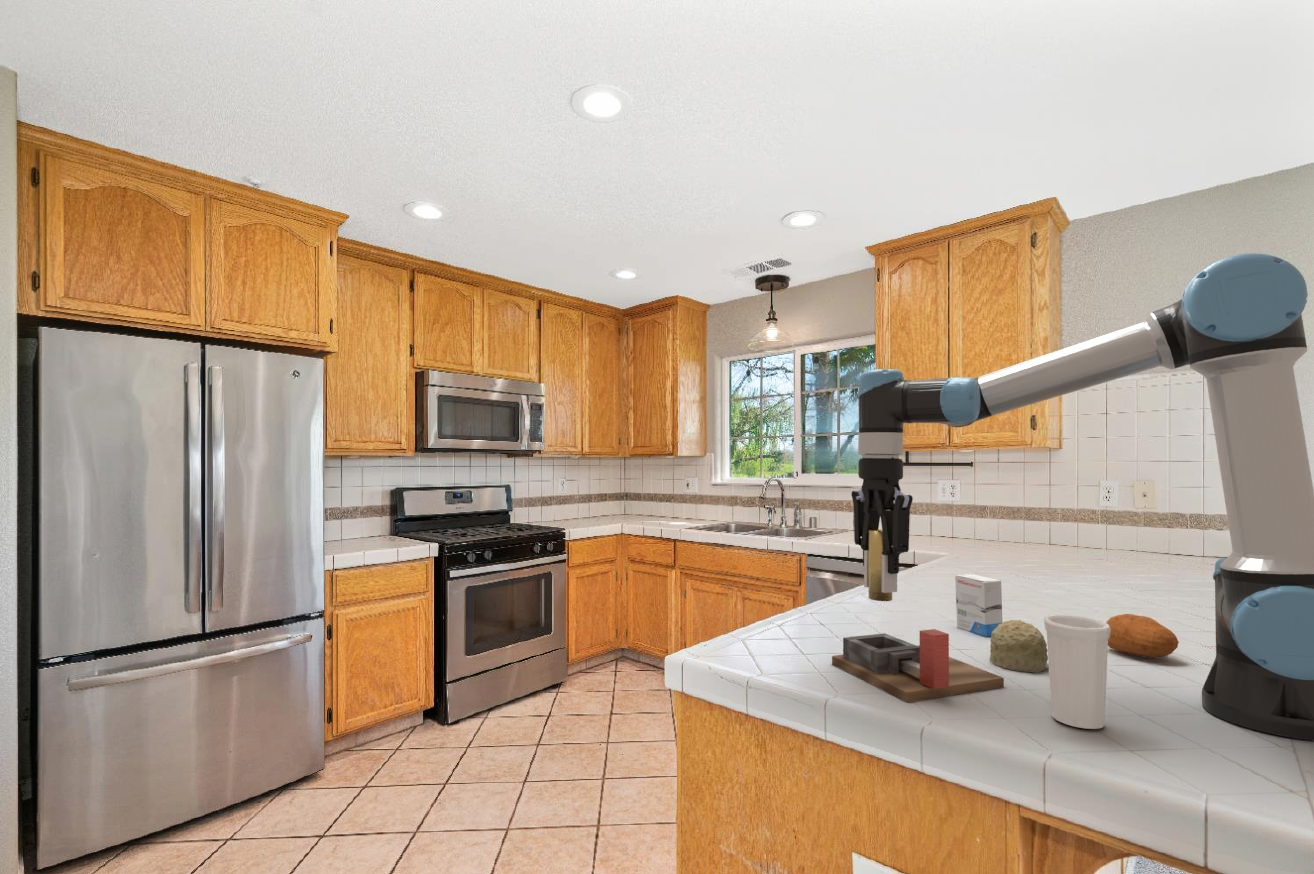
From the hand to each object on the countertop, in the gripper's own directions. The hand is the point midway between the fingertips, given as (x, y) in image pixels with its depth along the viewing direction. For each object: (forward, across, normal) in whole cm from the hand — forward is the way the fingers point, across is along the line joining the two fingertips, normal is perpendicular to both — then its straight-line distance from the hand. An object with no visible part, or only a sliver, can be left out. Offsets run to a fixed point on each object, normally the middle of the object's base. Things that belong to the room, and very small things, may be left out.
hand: (880, 588), depth 113 cm
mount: (+14, -4, -4) cm, 15 cm away
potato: (+14, -9, -54) cm, 56 cm away
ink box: (+15, +14, -38) cm, 43 cm away
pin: (+13, -9, 0) cm, 15 cm away
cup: (+14, -27, -12) cm, 33 cm away
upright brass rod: (+2, 0, 0) cm, 2 cm away
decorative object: (+15, -5, -27) cm, 31 cm away
